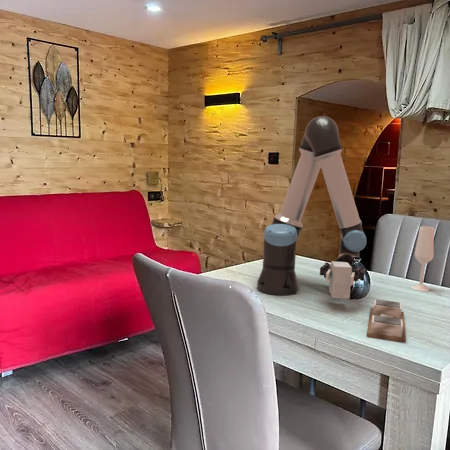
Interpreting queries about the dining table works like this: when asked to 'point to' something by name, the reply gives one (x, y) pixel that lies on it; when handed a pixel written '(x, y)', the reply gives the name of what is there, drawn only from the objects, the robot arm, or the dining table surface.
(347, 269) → the small box
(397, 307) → the board
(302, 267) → the dining table surface
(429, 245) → the champagne flute
